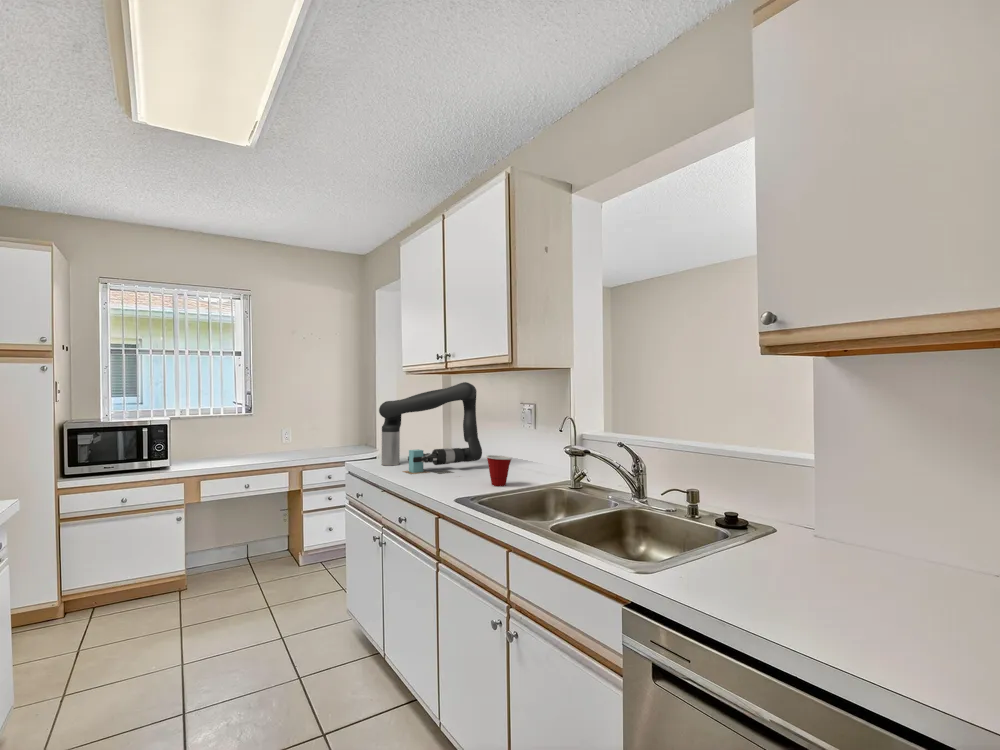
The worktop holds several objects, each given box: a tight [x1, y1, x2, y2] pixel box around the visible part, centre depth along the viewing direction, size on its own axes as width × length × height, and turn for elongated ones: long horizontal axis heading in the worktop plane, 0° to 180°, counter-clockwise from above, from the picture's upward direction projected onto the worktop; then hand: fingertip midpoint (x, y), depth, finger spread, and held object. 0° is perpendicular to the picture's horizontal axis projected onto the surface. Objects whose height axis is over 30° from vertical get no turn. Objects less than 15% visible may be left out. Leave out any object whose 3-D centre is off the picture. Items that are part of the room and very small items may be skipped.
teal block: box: [408, 449, 424, 473], centre depth 242 cm, size 5×5×10 cm
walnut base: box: [402, 469, 431, 475], centre depth 242 cm, size 10×10×5 cm
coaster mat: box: [432, 469, 455, 475], centre depth 241 cm, size 8×8×1 cm
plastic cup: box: [485, 454, 513, 487], centre depth 214 cm, size 11×11×12 cm
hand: (411, 459), depth 241 cm, fingers closed on teal block, 5 cm apart
